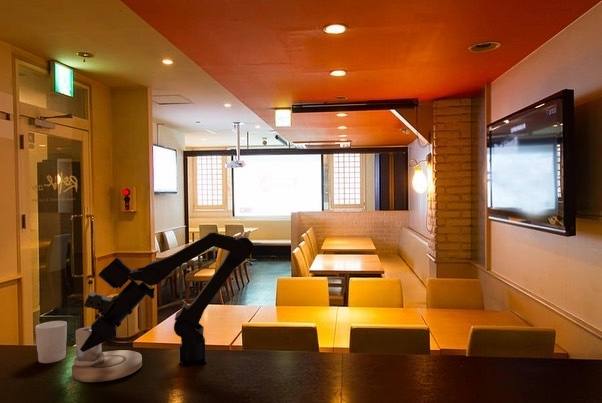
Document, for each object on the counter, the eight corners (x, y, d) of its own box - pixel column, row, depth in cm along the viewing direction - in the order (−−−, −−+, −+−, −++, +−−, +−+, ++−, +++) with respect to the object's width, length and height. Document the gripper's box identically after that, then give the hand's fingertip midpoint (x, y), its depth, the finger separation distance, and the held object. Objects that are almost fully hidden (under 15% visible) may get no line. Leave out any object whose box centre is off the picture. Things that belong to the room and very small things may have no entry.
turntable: (142, 355, 126) (142, 347, 126) (141, 377, 110) (141, 367, 110) (77, 364, 121) (77, 355, 121) (66, 388, 105) (66, 378, 105)
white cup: (53, 365, 121) (52, 329, 121) (29, 363, 122) (28, 327, 122) (73, 355, 128) (73, 321, 128) (50, 353, 130) (50, 320, 130)
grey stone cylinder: (105, 355, 119) (104, 323, 119) (103, 364, 112) (102, 331, 112) (76, 359, 116) (75, 327, 116) (72, 368, 110) (70, 335, 110)
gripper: (106, 275, 124) (64, 318, 121) (100, 287, 107) (50, 338, 103) (136, 300, 127) (96, 343, 123) (135, 315, 109) (88, 366, 106)
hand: (83, 346), depth 114 cm, fingers closed on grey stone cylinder, 6 cm apart
